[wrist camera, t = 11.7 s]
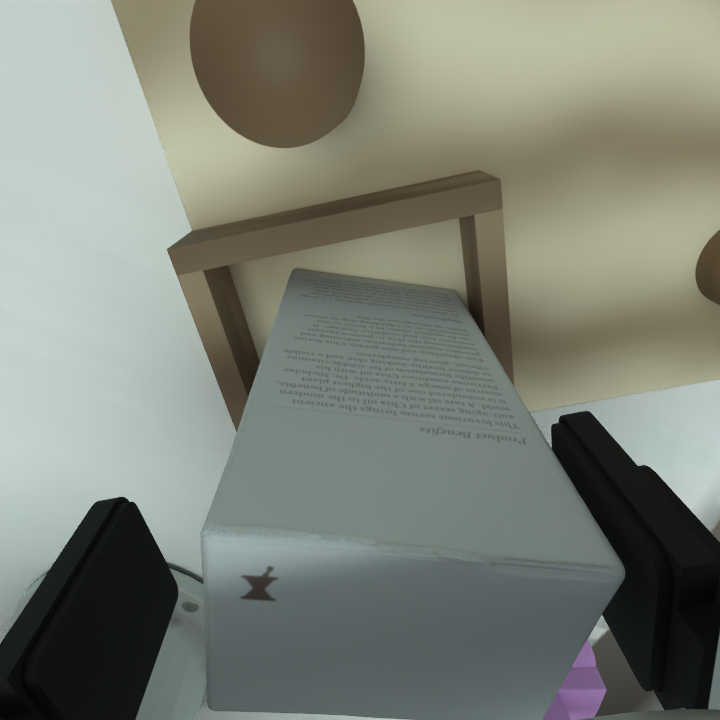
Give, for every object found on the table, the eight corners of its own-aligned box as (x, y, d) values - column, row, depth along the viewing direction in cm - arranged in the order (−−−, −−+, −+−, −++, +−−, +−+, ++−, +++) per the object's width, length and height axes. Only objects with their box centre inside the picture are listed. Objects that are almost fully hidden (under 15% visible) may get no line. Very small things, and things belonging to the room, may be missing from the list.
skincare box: (282, 372, 19) (192, 717, 8) (291, 265, 17) (188, 527, 6) (437, 390, 19) (545, 738, 9) (462, 288, 17) (643, 569, 7)
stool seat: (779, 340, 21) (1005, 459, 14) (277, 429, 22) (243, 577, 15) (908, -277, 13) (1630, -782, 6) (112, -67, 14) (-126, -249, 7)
